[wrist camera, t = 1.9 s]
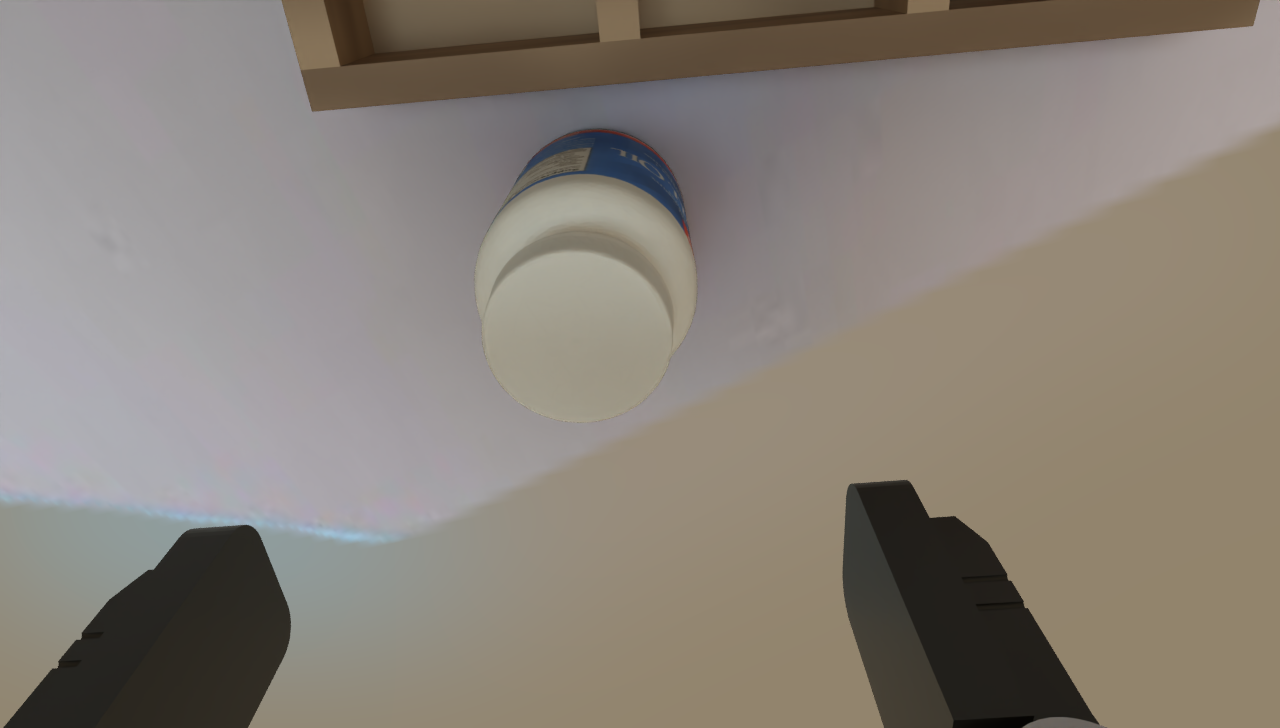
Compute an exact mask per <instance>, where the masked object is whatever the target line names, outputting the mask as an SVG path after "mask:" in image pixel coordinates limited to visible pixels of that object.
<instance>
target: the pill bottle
mask: <svg viewBox="0 0 1280 728" xmlns="http://www.w3.org/2000/svg"><path fill="white" fill-rule="evenodd" d="M474 282H475V297H476V303H477V308H478V313H479V316H480V318H481V321H482V343H483V349H484V353H485V357H486V359H487V362H488V364H489V367H490V369H491V371H492V373H493V374H494V376H495V378H496V379H497V381H498V382H499V384H500V385H501V386H502V388H503V389H504V390H505V391H506V392H507V393H508V394H510V395H511V396H512V397H513V398H514V399H515V400H516V401H517V402H519V403H520V404H522V405H523V406H525V407H526V408H528V409H530V410H532V411H533V412H536V413H538V414H540V415H543V416H546V417H549V418H551V419H555V420H559V421H565V422H577V423H583V422H595V421H601V420H606V419H609V418H612V417H615V416H618V415H621V414H623V413H625V412H627V411H629V410H630V409H632V408H634V407H635V406H637V405H638V404H640V403H641V402H642V401H643V400H645V399H646V398H647V397H648V396H649V395H650V394H651V392H652V391H653V390H654V389H655V388H656V387H657V386H658V384H659V382H660V381H661V379H662V377H663V376H664V374H665V372H666V370H667V367H668V364H669V361H670V358H671V356H672V355H673V354H674V353H675V351H676V350H677V349H678V347H679V346H680V344H681V343H682V341H683V340H684V338H685V336H686V334H687V332H688V330H689V328H690V325H691V323H692V320H693V316H694V313H695V308H696V301H697V273H696V265H695V259H694V254H693V250H692V245H691V240H690V235H689V229H688V224H687V219H686V214H685V209H684V203H683V198H682V194H681V191H680V189H679V186H678V183H677V181H676V179H675V177H674V175H673V173H672V171H671V170H670V168H669V167H668V165H667V164H666V163H665V161H664V160H663V159H662V158H661V157H660V156H659V155H658V154H657V153H656V152H655V151H654V150H653V149H652V148H651V147H649V146H648V145H646V144H645V143H643V142H642V141H640V140H638V139H636V138H634V137H632V136H629V135H627V134H624V133H620V132H616V131H611V130H603V129H592V130H584V131H578V132H574V133H571V134H567V135H565V136H563V137H560V138H558V139H556V140H554V141H553V142H551V143H549V144H548V145H546V146H545V147H544V148H542V149H541V150H540V151H539V152H538V153H537V154H536V155H535V156H534V157H533V158H532V159H531V160H530V161H529V162H528V164H527V165H526V166H525V168H524V169H523V171H522V173H521V174H520V176H519V177H518V179H517V181H516V183H515V185H514V186H513V188H512V190H511V192H510V193H509V195H508V197H507V198H506V200H505V202H504V204H503V205H502V207H501V209H500V210H499V212H498V214H497V215H496V217H495V219H494V220H493V222H492V224H491V226H490V228H489V230H488V232H487V234H486V236H485V238H484V240H483V242H482V245H481V247H480V250H479V253H478V257H477V262H476V268H475V278H474Z"/></svg>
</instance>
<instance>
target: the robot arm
mask: <svg viewBox="0 0 1280 728" xmlns="http://www.w3.org/2000/svg"><path fill="white" fill-rule="evenodd" d="M843 588H844V597H845V603H846V608H847V613H848V617H849V621H850V623H851V627H852V630H853V633H854V636H855V639H856V642H857V645H858V648H859V651H860V654H861V658H862V661H863V664H864V667H865V670H866V673H867V676H868V679H869V682H870V685H871V688H872V692H873V695H874V697H875V701H876V704H877V707H878V710H879V713H880V716H881V719H882V722H883V725H884V728H1106V727H1104V726H1100V725H1099V723H1098V722H1097V720H1096V719H1095V717H1094V716H1093V715H1092V713H1091V711H1090V710H1089V708H1088V706H1087V705H1086V703H1085V702H1084V700H1083V698H1082V697H1081V695H1080V693H1079V692H1078V691H1077V688H1076V687H1075V685H1074V683H1073V682H1072V680H1071V679H1070V677H1069V675H1068V674H1067V672H1066V670H1065V669H1064V667H1063V665H1062V664H1061V662H1060V661H1059V659H1058V658H1057V655H1056V654H1055V652H1054V651H1053V649H1052V647H1051V646H1050V644H1049V642H1048V641H1047V639H1046V637H1045V636H1044V634H1043V632H1042V631H1041V629H1040V628H1039V626H1038V624H1037V623H1036V621H1035V620H1034V618H1033V616H1032V614H1031V613H1030V611H1029V609H1028V608H1025V607H1024V604H1023V602H1024V601H1023V599H1022V598H1021V596H1020V595H1019V593H1018V591H1017V590H1016V588H1015V586H1014V585H1013V583H1012V581H1008V579H1007V573H1006V572H1005V570H1004V569H1003V567H1002V565H1001V563H1000V562H999V560H998V558H997V557H996V555H995V553H994V552H993V551H992V548H991V547H990V545H989V544H988V542H987V541H985V540H984V539H983V538H982V537H980V536H979V535H978V534H977V533H975V532H974V531H973V530H972V529H970V528H969V527H968V526H966V525H965V524H964V523H963V522H961V521H960V520H959V519H957V518H956V517H955V516H951V517H937V518H929V516H928V514H927V512H926V510H925V508H924V506H923V504H922V502H921V501H920V499H919V497H918V495H917V493H916V491H915V489H914V488H913V486H912V484H911V483H910V482H909V481H907V480H899V481H884V482H870V483H856V484H850V485H849V487H848V490H847V496H846V515H845V535H844V554H843ZM290 630H291V620H290V612H289V608H288V605H287V602H286V600H285V597H284V595H283V592H282V590H281V587H280V585H279V582H278V580H277V577H276V575H275V572H274V570H273V567H272V565H271V562H270V560H269V557H268V555H267V552H266V550H265V547H264V545H263V542H262V540H261V537H260V535H259V534H258V532H257V531H256V530H255V529H254V528H253V527H251V526H249V525H238V526H224V527H210V528H196V529H190V530H188V531H186V532H185V533H184V534H182V535H181V537H180V538H179V539H178V540H177V541H176V543H175V544H174V545H173V546H172V548H171V549H170V550H169V551H168V553H167V554H166V555H165V556H164V558H163V559H162V560H161V561H160V563H159V564H158V565H157V566H156V568H155V569H154V570H148V571H146V572H145V573H144V574H142V575H141V576H140V577H138V578H137V579H136V580H135V581H133V582H132V583H131V584H129V585H128V586H127V587H125V588H124V589H123V590H121V591H120V592H119V593H118V594H116V595H115V596H114V597H112V598H111V599H110V600H109V601H108V602H107V603H106V604H105V606H104V607H103V608H102V609H101V610H100V612H99V613H98V614H97V615H96V617H95V618H94V619H93V620H92V621H91V623H90V624H89V625H88V626H87V627H86V629H85V630H84V631H83V632H82V638H81V640H76V641H75V642H74V643H73V644H72V646H71V647H70V648H69V649H68V650H67V652H66V653H65V654H64V655H63V656H62V658H61V659H60V660H59V661H58V662H59V666H58V668H57V669H52V670H51V671H50V672H49V673H48V675H47V676H46V677H45V678H44V679H43V681H42V682H41V683H40V684H39V685H38V686H37V688H36V689H35V690H34V691H33V693H32V694H31V695H30V696H29V697H28V699H27V700H26V701H25V702H24V703H23V705H22V706H21V707H20V708H19V709H18V711H17V712H16V713H15V714H14V716H13V717H12V718H11V719H10V721H9V722H8V723H7V724H6V725H5V726H4V728H248V726H249V724H250V722H251V720H252V718H253V716H254V715H255V713H256V711H257V709H258V707H259V705H260V703H261V701H262V699H263V697H264V695H265V693H266V691H267V689H268V687H269V685H270V683H271V681H272V679H273V677H274V675H275V673H276V671H277V669H278V667H279V665H280V663H281V661H282V659H283V657H284V655H285V653H286V650H287V647H288V643H289V639H290Z"/></svg>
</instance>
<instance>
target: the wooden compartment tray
mask: <svg viewBox="0 0 1280 728" xmlns="http://www.w3.org/2000/svg"><path fill="white" fill-rule="evenodd" d="M1259 2H1260V0H282V4H283V7H284V11H285V15H286V18H287V22H288V26H289V29H290V33H291V37H292V40H293V44H294V48H295V51H296V55H297V58H298V62H299V66H300V69H301V73H302V77H303V80H304V84H305V88H306V91H307V95H308V98H309V102H310V106H311V109H312V112H313V111H324V110H335V109H346V108H357V107H368V106H379V105H390V104H401V103H412V102H423V101H434V100H445V99H456V98H467V97H478V96H489V95H500V94H511V93H522V92H533V91H544V90H555V89H566V88H577V87H588V86H599V85H610V84H621V83H632V82H643V81H654V80H665V79H676V78H687V77H698V76H709V75H720V74H731V73H742V72H753V71H764V70H775V69H786V68H797V67H808V66H819V65H830V64H841V63H852V62H863V61H874V60H885V59H896V58H907V57H918V56H929V55H940V54H951V53H962V52H973V51H984V50H995V49H1006V48H1017V47H1028V46H1039V45H1050V44H1061V43H1072V42H1083V41H1094V40H1105V39H1116V38H1126V37H1137V36H1148V35H1159V34H1170V33H1181V32H1192V31H1203V30H1214V29H1225V28H1236V27H1247V26H1253V24H1254V21H1255V17H1256V13H1257V9H1258V6H1259Z"/></svg>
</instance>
